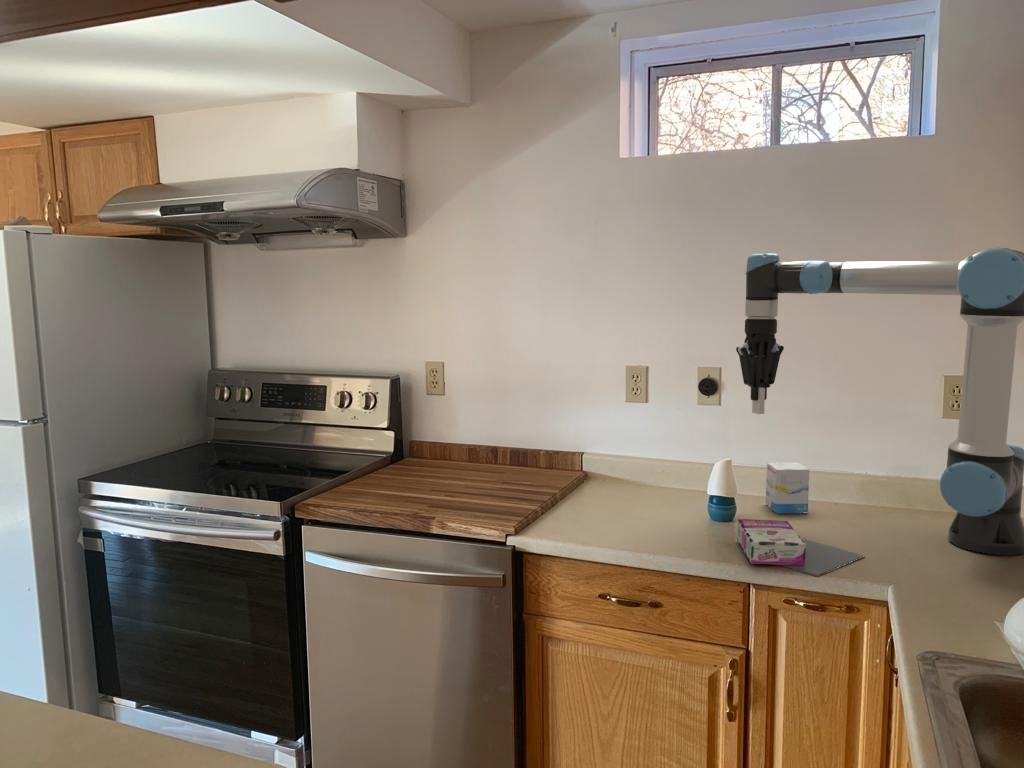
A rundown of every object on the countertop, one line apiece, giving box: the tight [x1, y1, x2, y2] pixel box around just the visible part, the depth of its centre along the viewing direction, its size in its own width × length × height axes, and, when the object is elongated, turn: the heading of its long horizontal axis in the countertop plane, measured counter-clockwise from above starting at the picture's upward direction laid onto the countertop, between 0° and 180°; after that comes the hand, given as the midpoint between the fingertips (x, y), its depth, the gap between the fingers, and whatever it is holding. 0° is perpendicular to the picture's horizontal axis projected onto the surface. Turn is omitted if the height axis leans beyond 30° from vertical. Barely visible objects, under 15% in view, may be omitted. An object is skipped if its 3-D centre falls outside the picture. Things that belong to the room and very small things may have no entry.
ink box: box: [765, 461, 810, 514], centre depth 200 cm, size 8×8×12 cm
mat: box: [741, 537, 865, 578], centre depth 167 cm, size 18×18×1 cm
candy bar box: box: [736, 518, 806, 566], centre depth 167 cm, size 11×5×16 cm
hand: (758, 413), depth 192 cm, fingers closed
